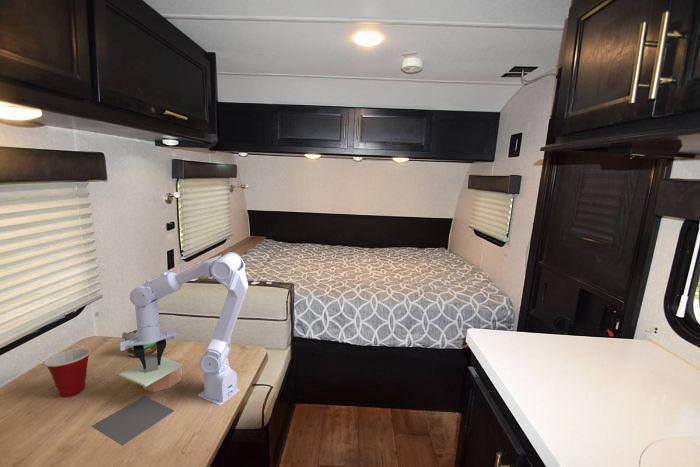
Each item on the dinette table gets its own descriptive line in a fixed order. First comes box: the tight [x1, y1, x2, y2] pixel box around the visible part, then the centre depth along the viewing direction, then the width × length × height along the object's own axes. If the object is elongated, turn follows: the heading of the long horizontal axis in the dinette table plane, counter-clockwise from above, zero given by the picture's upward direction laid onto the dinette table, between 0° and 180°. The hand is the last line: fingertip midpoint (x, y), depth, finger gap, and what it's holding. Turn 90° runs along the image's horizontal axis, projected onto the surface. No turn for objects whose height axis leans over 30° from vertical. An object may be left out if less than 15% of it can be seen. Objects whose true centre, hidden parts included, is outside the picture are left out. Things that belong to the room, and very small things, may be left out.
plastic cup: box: [43, 347, 91, 398], centre depth 100 cm, size 11×11×12 cm
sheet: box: [118, 352, 184, 387], centre depth 99 cm, size 12×12×5 cm
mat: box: [91, 395, 175, 446], centre depth 90 cm, size 14×14×1 cm
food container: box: [121, 329, 157, 359], centre depth 123 cm, size 12×6×10 cm, turn 143°
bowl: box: [142, 357, 183, 393], centre depth 106 cm, size 11×11×5 cm
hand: (151, 365), depth 99 cm, fingers closed on sheet, 3 cm apart
